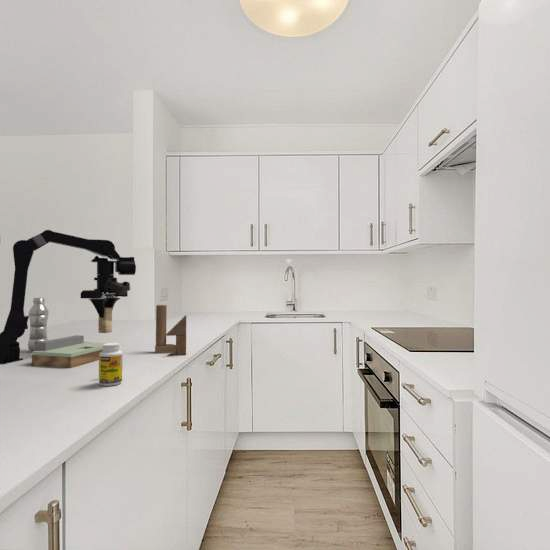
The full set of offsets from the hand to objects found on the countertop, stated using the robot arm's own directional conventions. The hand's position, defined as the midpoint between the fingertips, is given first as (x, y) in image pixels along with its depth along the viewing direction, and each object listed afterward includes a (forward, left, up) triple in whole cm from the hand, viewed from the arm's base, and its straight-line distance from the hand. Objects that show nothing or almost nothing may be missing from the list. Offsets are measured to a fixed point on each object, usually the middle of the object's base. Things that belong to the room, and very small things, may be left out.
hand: (105, 317), depth 141 cm
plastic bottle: (-27, -3, -13) cm, 30 cm away
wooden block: (+24, +4, -13) cm, 28 cm away
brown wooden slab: (+2, -17, -13) cm, 22 cm away
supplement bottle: (+29, -36, -13) cm, 48 cm away
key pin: (0, 0, -6) cm, 6 cm away
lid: (+2, -17, -9) cm, 19 cm away
